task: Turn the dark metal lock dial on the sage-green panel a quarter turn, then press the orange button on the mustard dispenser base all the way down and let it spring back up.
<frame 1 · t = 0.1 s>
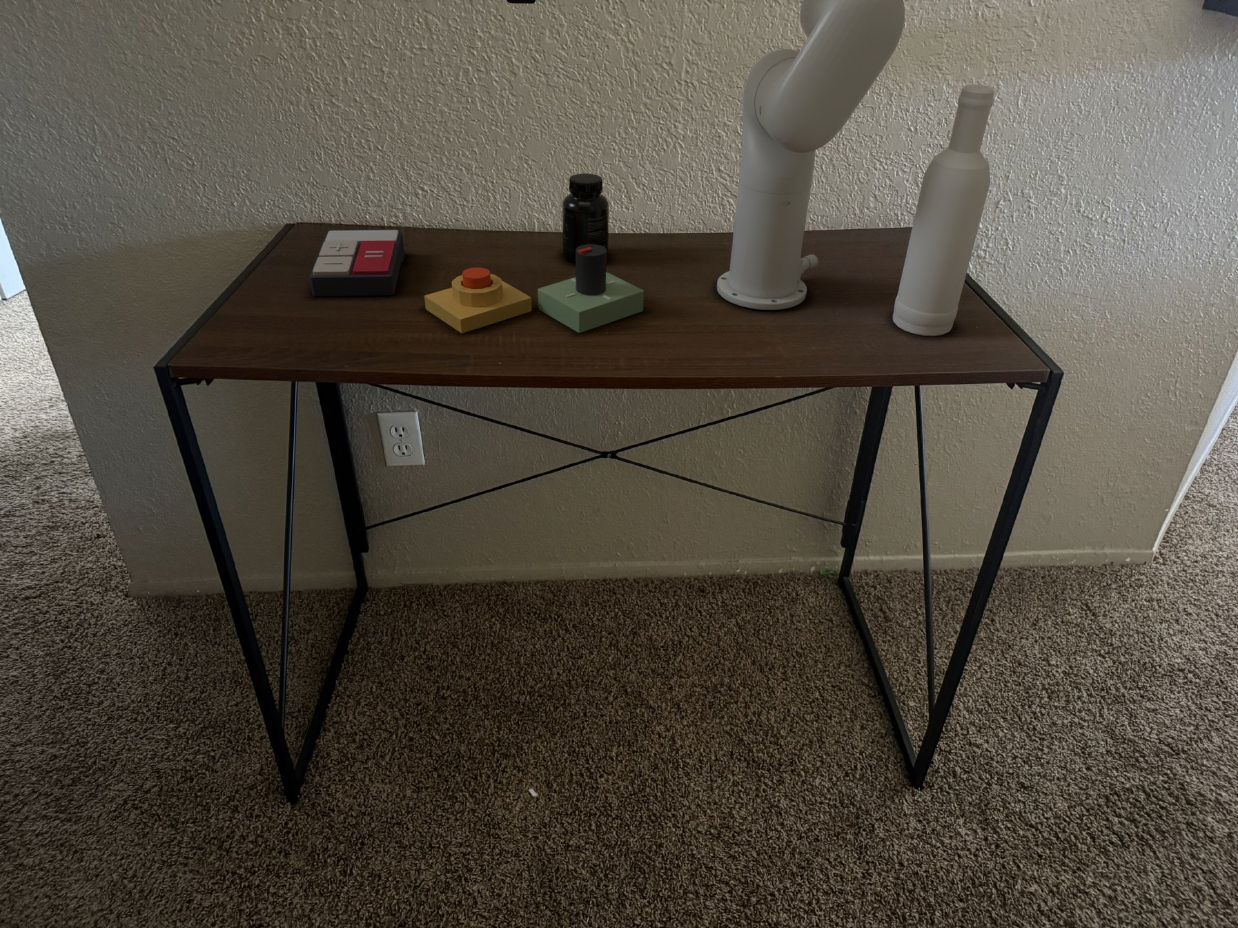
dispenser base: (478, 310, 121), on the table
bottle: (921, 325, 121), on the table
dial panel: (590, 310, 122), on the table
button: (476, 279, 118), point 4 cm above the table, slide at 0.1 cm
lock dial: (591, 268, 119), point 6 cm above the table, hinge at 0.0°
supplement bottle: (585, 258, 137), on the table
calculator: (361, 276, 130), on the table
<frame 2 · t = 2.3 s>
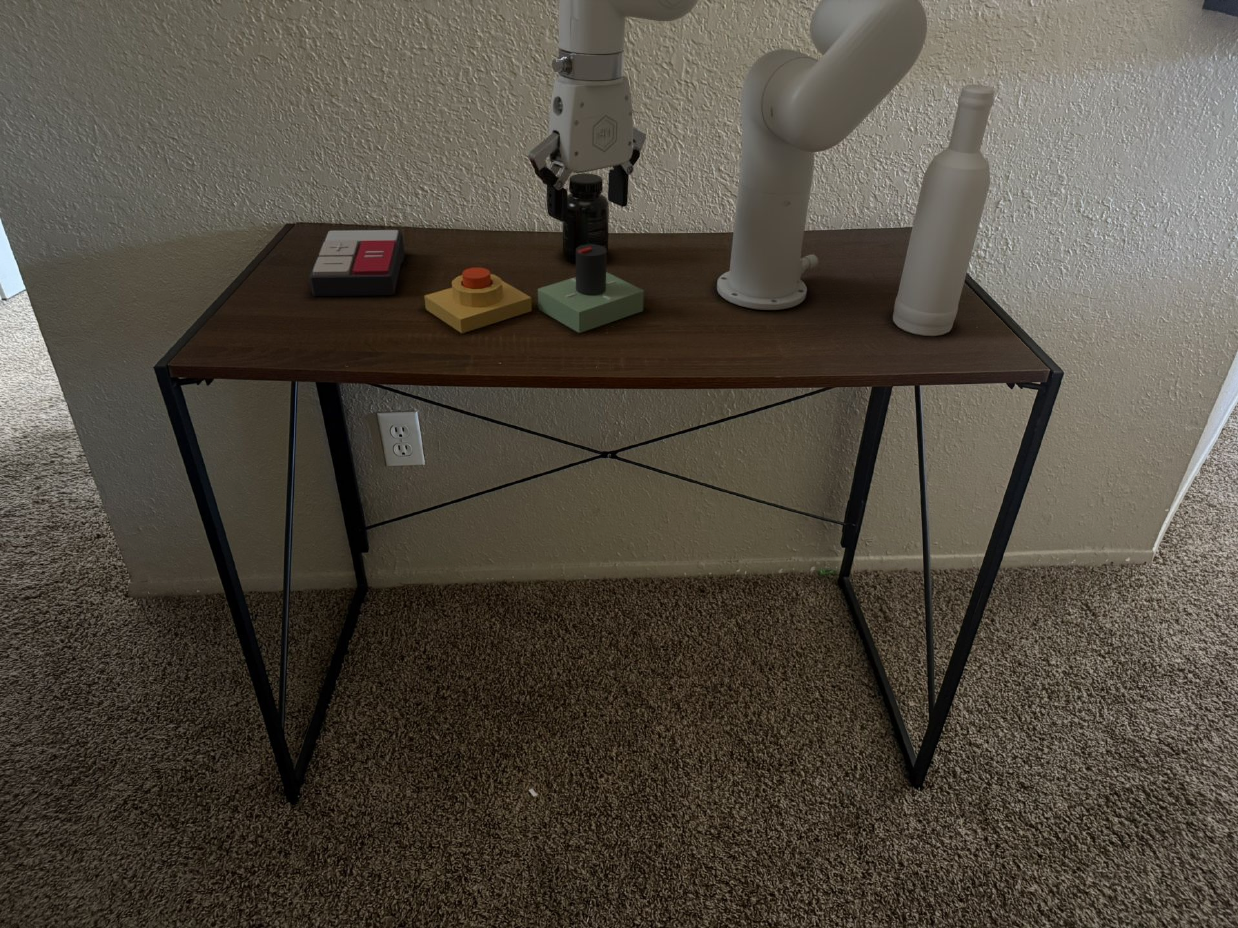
hand: (588, 211, 114), 14 cm above the table, tool pointing down, fingers open, 9 cm apart
nothing on the table moved.
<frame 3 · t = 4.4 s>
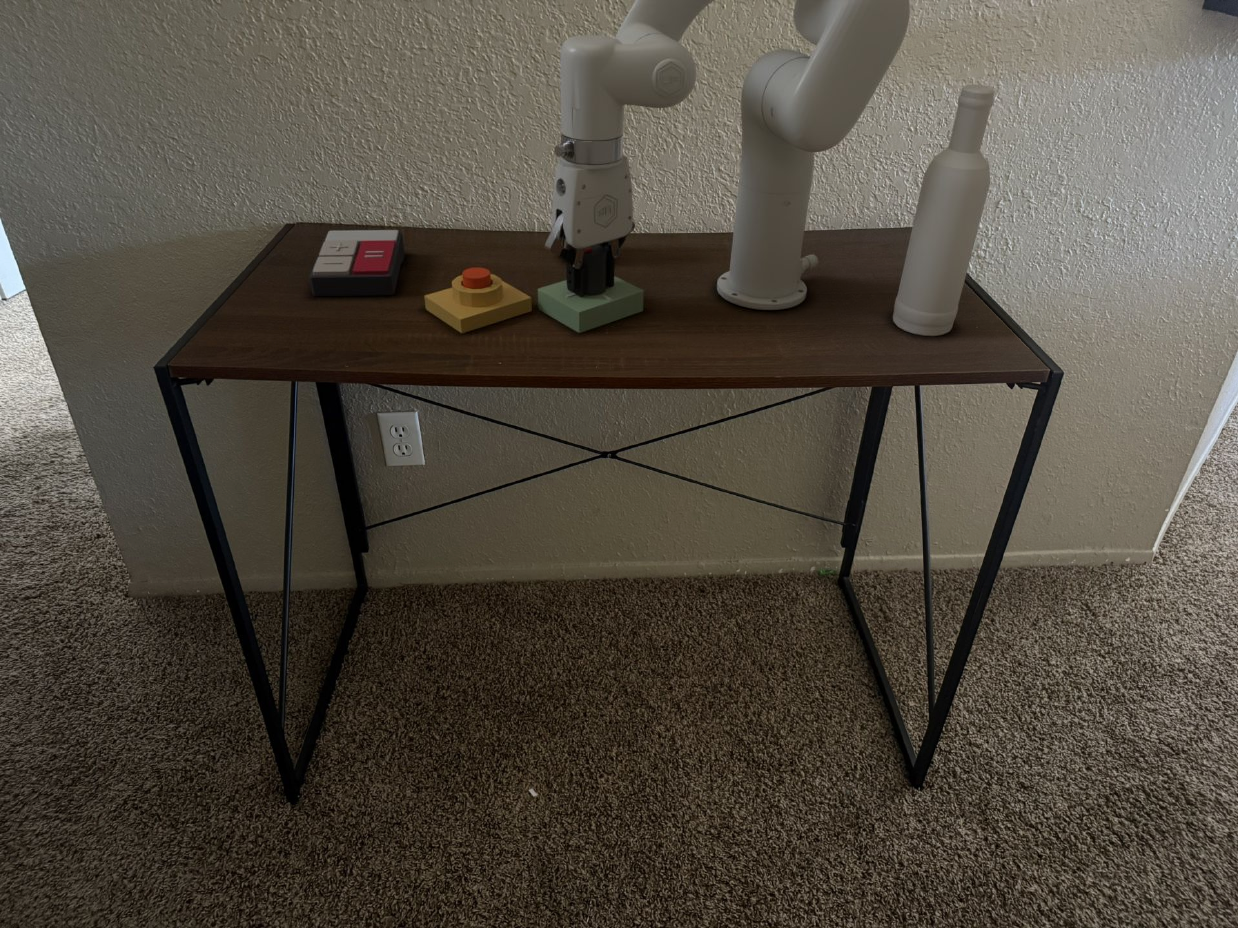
hand: (590, 287, 120), 3 cm above the table, tool pointing down, fingers open, 4 cm apart
lock dial: (591, 268, 119), point 6 cm above the table, hinge at 0.0°, touching gripper
everything else where it was.
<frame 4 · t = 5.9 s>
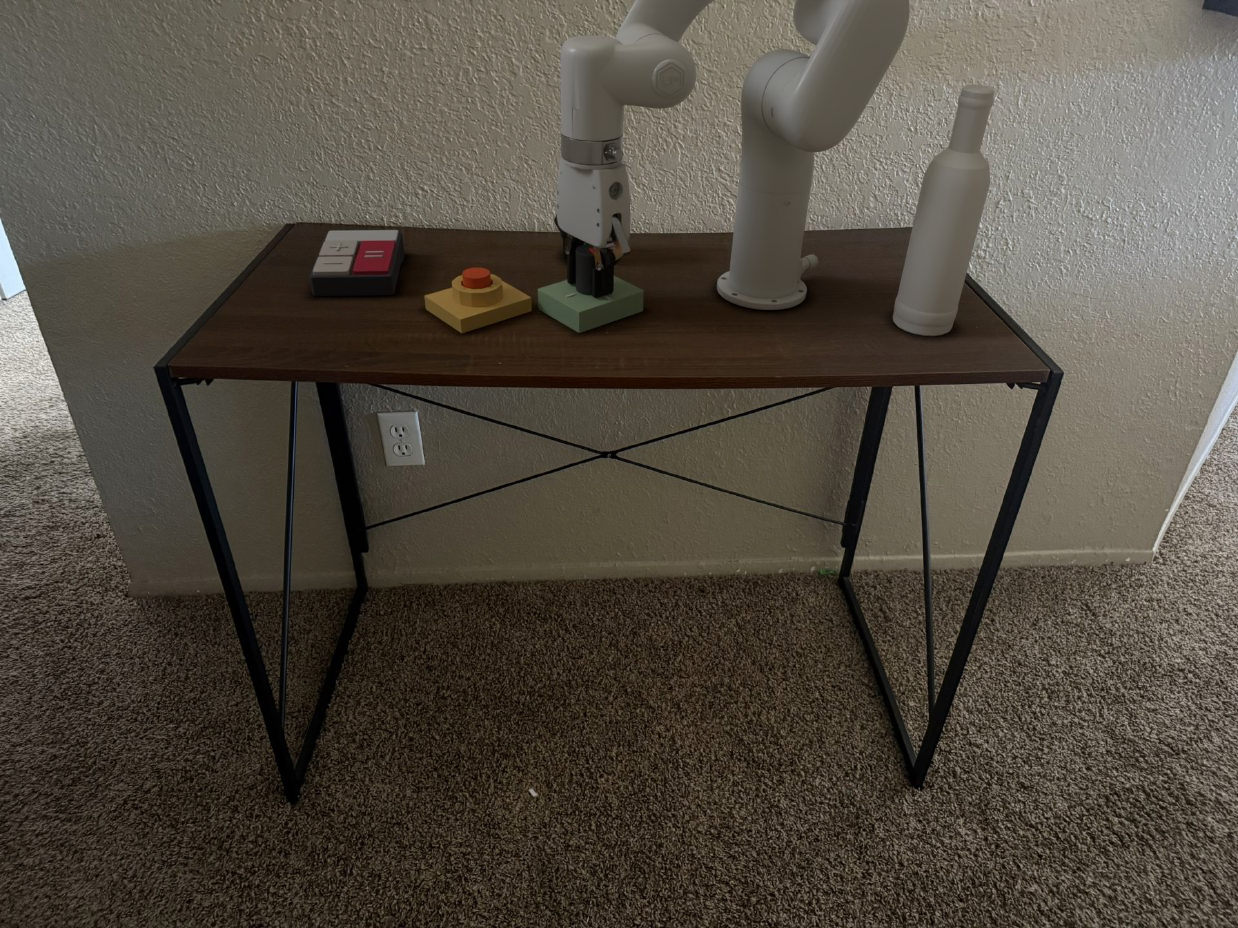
hand: (590, 287, 120), 3 cm above the table, tool pointing down, fingers open, 4 cm apart
lock dial: (591, 268, 119), point 6 cm above the table, hinge at 75.3°
everything else where it was.
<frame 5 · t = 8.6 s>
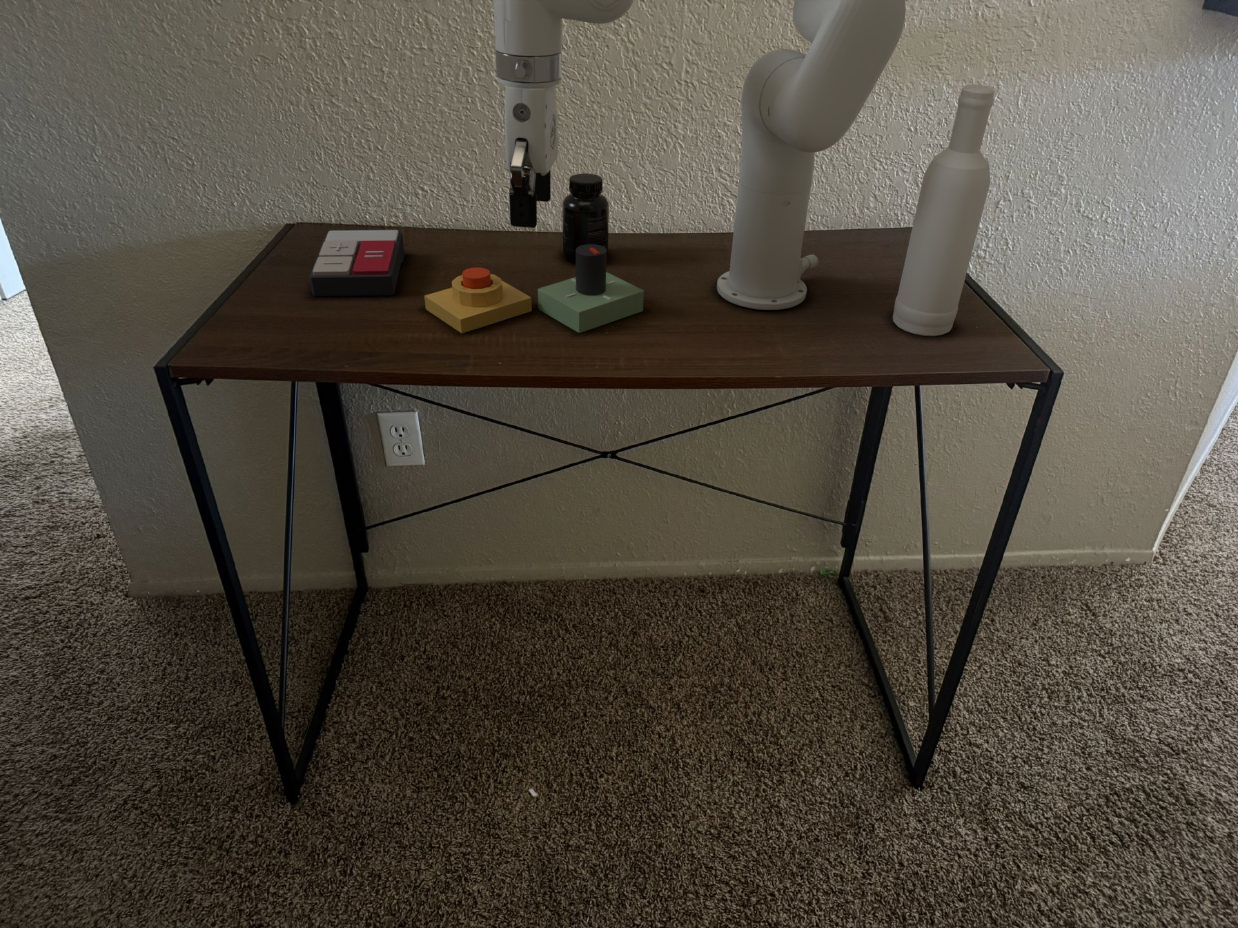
hand: (531, 213, 114), 13 cm above the table, tool pointing down, fingers open, 9 cm apart
nothing on the table moved.
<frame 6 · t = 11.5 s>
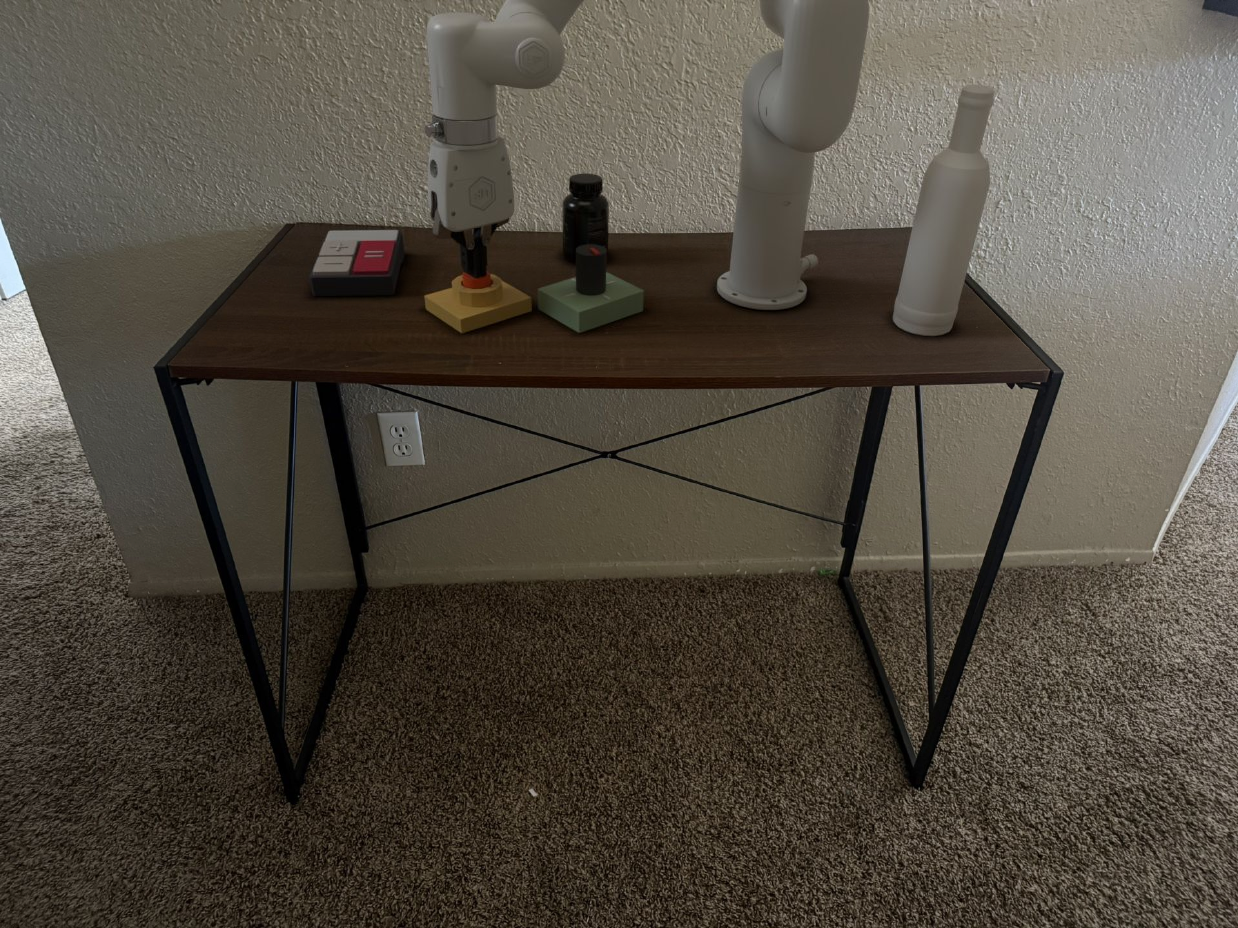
hand: (474, 273, 118), 5 cm above the table, tool pointing down, fingers closed
button: (476, 280, 119), point 4 cm above the table, slide at -0.1 cm, touching gripper
everything else where it was.
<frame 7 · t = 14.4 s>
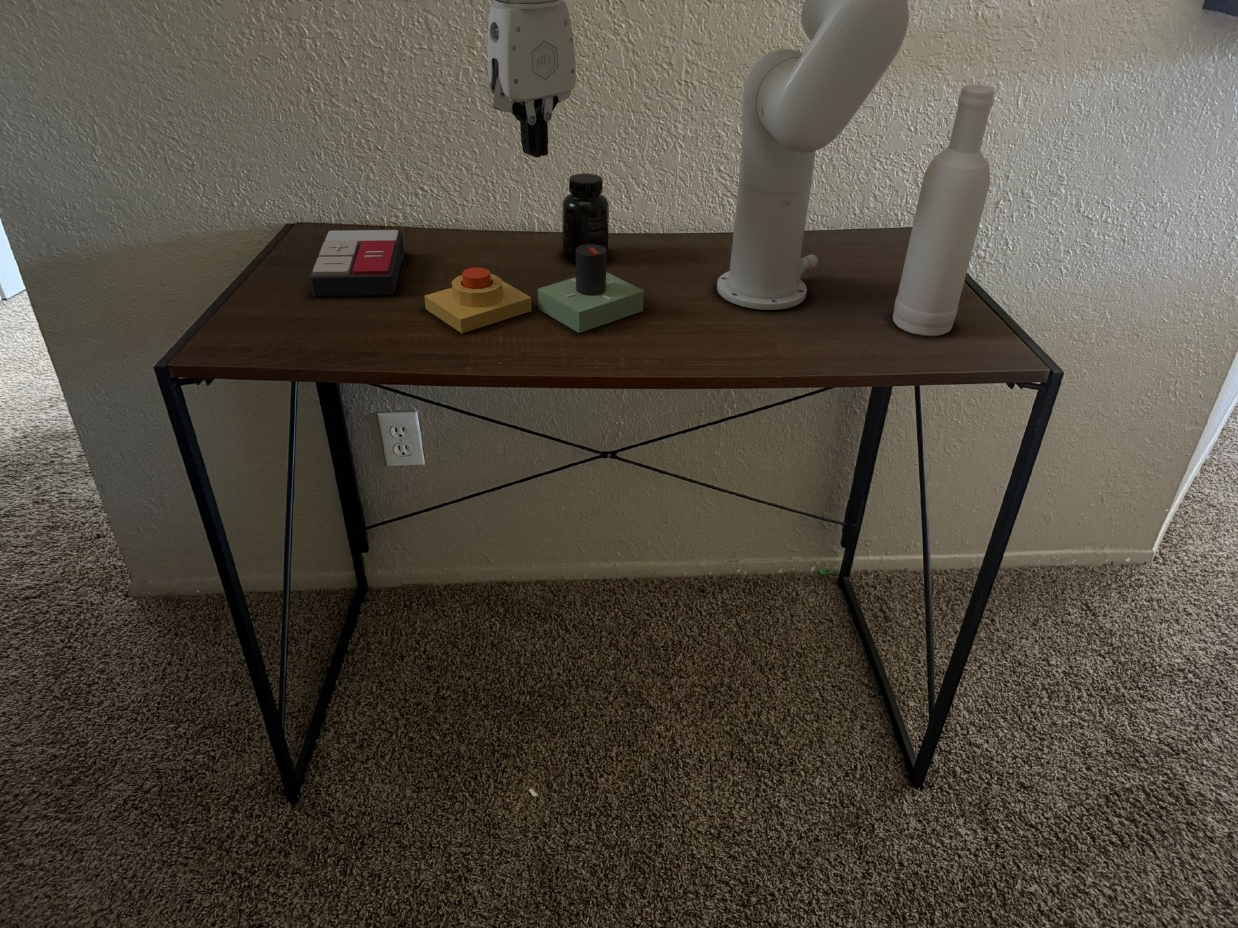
hand: (535, 154, 113), 20 cm above the table, tool pointing down, fingers closed
button: (476, 279, 118), point 4 cm above the table, slide at 0.1 cm
everything else where it was.
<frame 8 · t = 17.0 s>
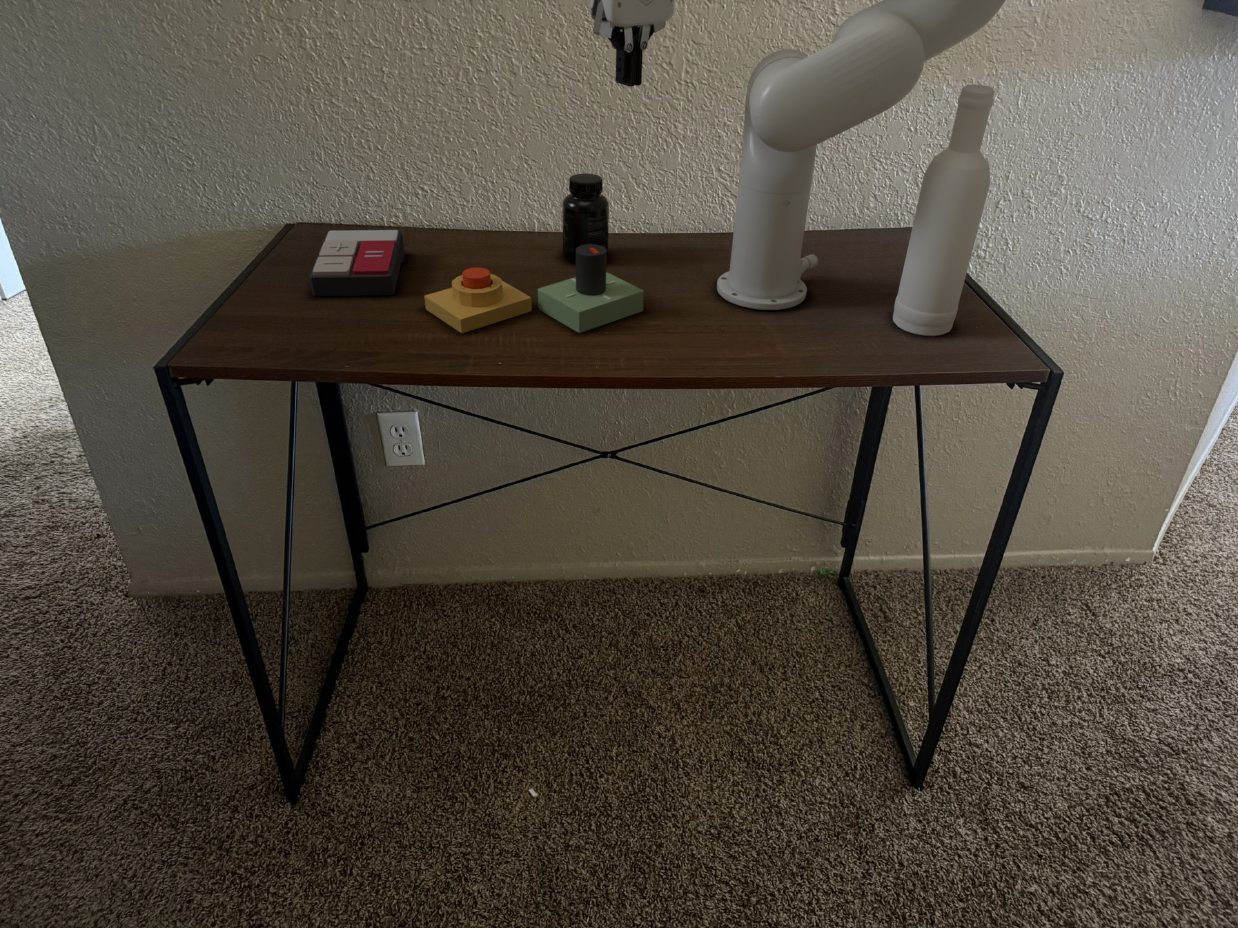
hand: (628, 83, 114), 27 cm above the table, tool pointing down, fingers closed
nothing on the table moved.
at the end: lock dial at +75° (first picture: +0°); button pushed in 1.3 cm at the most during the clip, back to where it started at the end; button slide at 0.1 cm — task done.
